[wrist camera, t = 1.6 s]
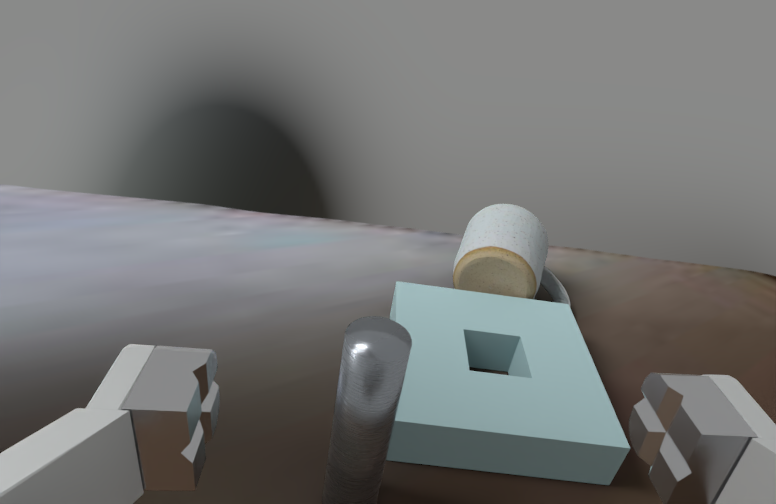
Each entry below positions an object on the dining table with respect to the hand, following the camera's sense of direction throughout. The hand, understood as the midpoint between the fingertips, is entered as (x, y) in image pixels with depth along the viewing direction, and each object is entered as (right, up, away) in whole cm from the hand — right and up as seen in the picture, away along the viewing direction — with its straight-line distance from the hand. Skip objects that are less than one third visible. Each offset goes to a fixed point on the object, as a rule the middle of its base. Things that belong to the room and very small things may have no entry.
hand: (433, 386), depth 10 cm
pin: (-3, -11, +20) cm, 23 cm away
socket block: (+6, -7, +29) cm, 31 cm away
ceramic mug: (+10, -2, +40) cm, 41 cm away
